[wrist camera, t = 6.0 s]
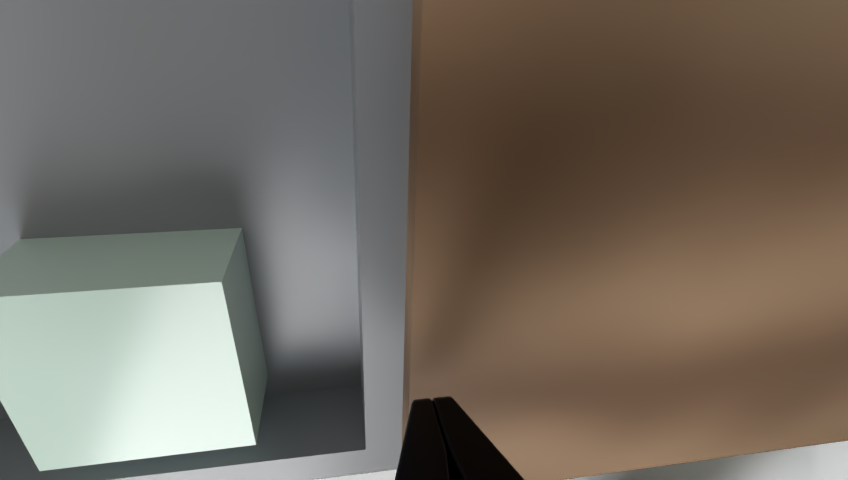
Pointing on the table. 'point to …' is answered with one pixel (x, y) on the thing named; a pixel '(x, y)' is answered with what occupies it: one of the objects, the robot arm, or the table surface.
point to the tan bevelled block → (629, 227)
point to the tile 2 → (130, 346)
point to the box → (232, 193)
